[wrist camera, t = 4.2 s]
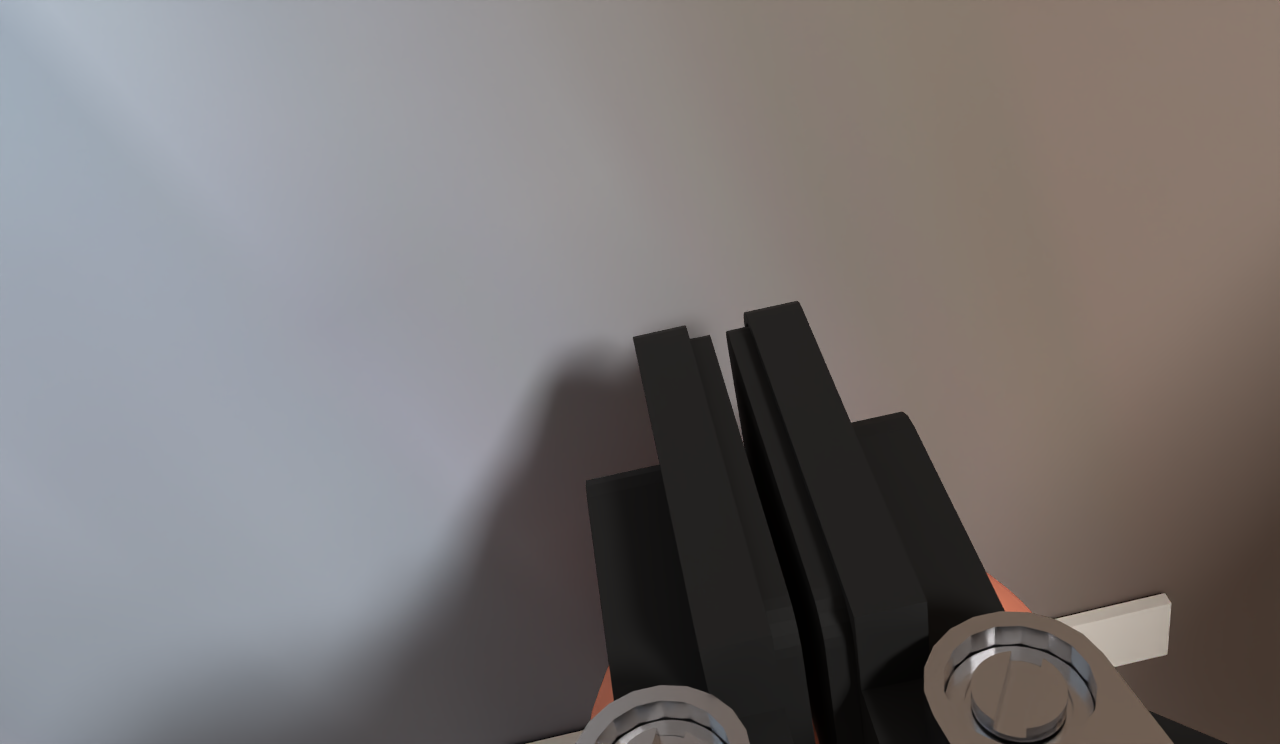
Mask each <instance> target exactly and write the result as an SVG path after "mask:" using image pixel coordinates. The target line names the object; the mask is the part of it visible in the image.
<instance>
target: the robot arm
mask: <svg viewBox="0 0 1280 744" xmlns="http://www.w3.org/2000/svg"><path fill="white" fill-rule="evenodd" d="M744 325H745V327H744V328H739V329H734V330H730V331H727V332H726V337H727V344H728V350H729V356H730V362H731V368H732V374H733V380H734V387H735V393H736V399H737V405H738V411H739V417H740V423H741V429H742V435H743V441H744V445H743V442H742V439H741V435H740V432H739V429H738V426H737V422H736V419H735V416H734V412H733V409H732V406H731V402H730V399H729V396H728V393H727V389H726V386H725V383H724V379H723V376H722V373H721V370H720V366H719V363H718V360H717V356H716V353H715V350H714V346H713V343H712V340H711V337H710V335H707V336H703V337H698V338H693V339H690V338H689V335H688V331H687V328H686V326H681V327H676V328H672V329H667V330H662V331H658V332H653V333H649V334H644V335H640V336H635V337H633V340H634V345H635V350H636V354H637V359H638V364H639V369H640V373H641V378H642V383H643V388H644V392H645V397H646V402H647V406H648V411H649V416H650V421H651V425H652V430H653V435H654V440H655V444H656V449H657V454H658V459H659V463H660V465H656V466H651V467H647V468H642V469H638V470H633V471H629V472H624V473H620V474H615V475H610V476H606V477H601V478H597V479H592V480H588V481H586V493H587V502H588V509H589V517H590V524H591V532H592V540H593V547H594V555H595V562H596V570H597V578H598V585H599V593H600V600H601V608H602V615H603V623H604V631H605V638H606V646H607V653H608V661H609V669H610V676H611V684H612V691H613V699H614V701H613V702H611V703H609V704H608V705H607V706H606V707H605V708H604V709H603V710H601V711H600V712H599V713H598V714H597V715H596V716H595V717H594V718H593V719H591V720H590V721H589V722H588V724H587V725H586V727H585V729H584V730H583V732H582V734H581V735H580V737H579V738H578V740H577V742H576V743H575V744H816V743H815V736H814V729H813V723H814V727H815V730H816V734H817V737H818V740H819V744H1227V743H1225V742H1222V741H1220V740H1218V739H1215V738H1213V737H1210V736H1208V735H1206V734H1203V733H1201V732H1198V731H1196V730H1194V729H1191V728H1189V727H1186V726H1184V725H1182V724H1179V723H1177V722H1175V721H1172V720H1170V719H1167V718H1165V717H1163V716H1160V715H1158V714H1155V713H1153V712H1151V711H1148V710H1147V709H1146V707H1145V706H1144V705H1143V703H1142V702H1141V701H1140V700H1139V698H1138V697H1137V696H1136V694H1135V693H1134V692H1133V691H1132V689H1131V688H1130V687H1129V685H1128V684H1127V683H1126V682H1125V680H1124V679H1123V678H1122V677H1121V675H1120V674H1119V673H1118V671H1117V670H1116V669H1115V668H1114V666H1113V665H1112V664H1111V662H1110V661H1109V660H1108V659H1107V657H1106V656H1105V655H1104V653H1103V652H1102V651H1100V650H1099V649H1098V648H1097V647H1096V646H1095V645H1094V644H1093V643H1092V642H1091V641H1090V640H1089V639H1088V638H1087V637H1086V636H1085V635H1084V634H1082V633H1081V632H1079V631H1077V630H1075V629H1073V628H1071V627H1070V626H1068V625H1066V624H1064V623H1062V622H1060V621H1059V620H1056V619H1052V618H1049V617H1045V616H1041V615H1037V614H1034V613H1030V612H1007V611H1005V610H1004V608H1003V606H1002V604H1001V602H1000V600H999V598H998V596H997V594H996V592H995V590H994V588H993V585H992V583H991V581H990V579H989V577H988V575H987V573H986V571H985V569H984V567H983V565H982V563H981V561H980V559H979V557H978V555H977V553H976V551H975V549H974V547H973V545H972V543H971V541H970V539H969V537H968V535H967V533H966V531H965V529H964V527H963V525H962V523H961V521H960V518H959V516H958V514H957V512H956V510H955V508H954V506H953V504H952V502H951V500H950V498H949V496H948V494H947V492H946V490H945V488H944V486H943V484H942V482H941V480H940V478H939V476H938V474H937V472H936V470H935V468H934V466H933V464H932V462H931V460H930V458H929V456H928V454H927V451H926V449H925V447H924V445H923V443H922V441H921V439H920V437H919V435H918V433H917V431H916V429H915V427H914V425H913V424H912V422H911V420H910V419H909V417H908V416H907V415H906V414H905V413H904V412H898V413H894V414H889V415H884V416H880V417H875V418H871V419H866V420H862V421H857V422H852V423H851V422H850V419H849V417H848V415H847V412H846V410H845V408H844V405H843V403H842V401H841V398H840V396H839V394H838V391H837V389H836V387H835V384H834V382H833V380H832V377H831V375H830V373H829V370H828V368H827V366H826V363H825V361H824V358H823V356H822V354H821V351H820V349H819V347H818V344H817V342H816V340H815V337H814V335H813V333H812V330H811V328H810V326H809V323H808V321H807V319H806V316H805V314H804V312H803V309H802V307H801V305H800V303H799V302H798V301H794V302H790V303H785V304H781V305H776V306H772V307H767V308H763V309H758V310H753V311H749V312H744ZM744 447H745V449H744ZM812 720H813V722H812Z"/></svg>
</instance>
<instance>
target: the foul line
mask: <svg viewBox="0 0 1280 744" xmlns="http://www.w3.org/2000/svg"><path fill="white" fill-rule="evenodd" d="M1170 615H1171V602H1170V600H1169V599H1168V597H1167V595H1166V594H1165V593H1163V594H1159V595H1154V596H1150V597H1146V598H1142V599H1137V600H1133V601H1129V602H1125V603H1121V604H1116V605H1112V606H1108V607H1104V608H1099V609H1095V610H1091V611H1087V612H1082V613H1078V614H1074V615H1070V616H1065V617H1061V618H1057V619H1056V620H1059V621H1060V622H1062V623H1064V624H1066V625H1068V626H1070V627H1071V628H1073V629H1075V630H1077V631H1079V632H1081V633H1082V634H1084V635H1085V636H1086V637H1087V638H1088V639H1089V640H1090V641H1091V642H1092V643H1093V644H1094V645H1095V646H1096V647H1097V648H1098V649H1099V650H1100V651H1102V652H1103V653H1104V655H1105V656H1106V657H1107V659H1108V660H1109V661H1110V662H1111V664H1112V665H1113V666H1114V667H1117V666H1121V665H1125V664H1129V663H1134V662H1138V661H1142V660H1147V659H1151V658H1155V657H1159V656H1164V655H1167V653H1168V640H1169V627H1170ZM582 732H583V730H582V731H578V732H573V733H569V734H565V735H561V736H556V737H552V738H548V739H544V740H540V741H535V742H531V743H527V744H575V743H576V742H577V740H578V738H579V737H580V735H581V734H582Z"/></svg>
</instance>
